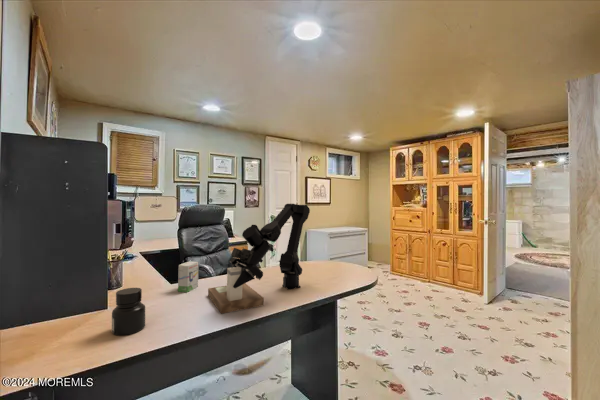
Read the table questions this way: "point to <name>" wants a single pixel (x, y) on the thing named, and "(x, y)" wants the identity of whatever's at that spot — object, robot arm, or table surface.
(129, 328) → the ink bottle
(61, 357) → the table surface
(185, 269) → the ink box
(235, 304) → the board
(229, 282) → the plug
